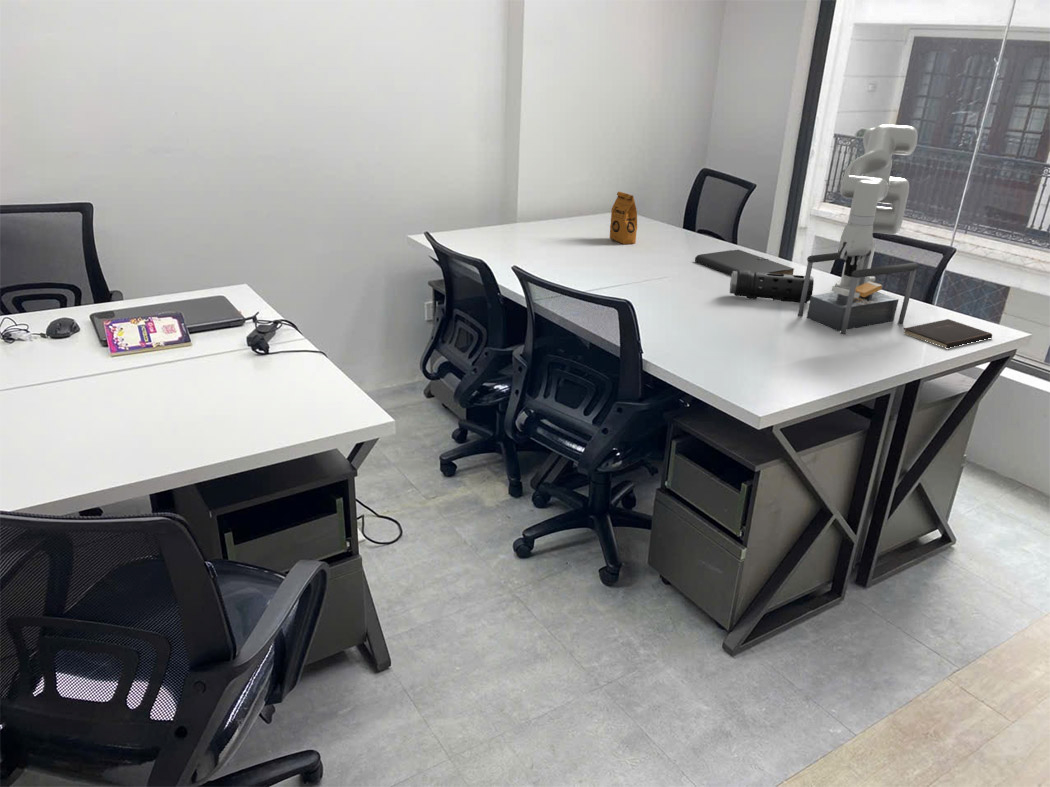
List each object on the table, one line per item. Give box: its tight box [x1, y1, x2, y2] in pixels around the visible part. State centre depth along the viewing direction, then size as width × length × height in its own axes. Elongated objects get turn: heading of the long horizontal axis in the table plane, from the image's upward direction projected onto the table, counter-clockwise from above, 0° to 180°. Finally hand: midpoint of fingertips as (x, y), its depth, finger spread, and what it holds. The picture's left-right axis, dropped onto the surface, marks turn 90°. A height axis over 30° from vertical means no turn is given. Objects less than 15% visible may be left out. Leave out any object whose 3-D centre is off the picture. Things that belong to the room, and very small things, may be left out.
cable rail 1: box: [797, 250, 871, 318], centre depth 267 cm, size 29×2×21 cm, turn 116°
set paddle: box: [830, 286, 860, 298], centre depth 258 cm, size 8×5×2 cm, turn 117°
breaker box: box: [806, 291, 900, 332], centre depth 262 cm, size 26×14×9 cm, turn 117°
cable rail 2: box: [840, 262, 919, 336], centre depth 252 cm, size 29×2×21 cm, turn 116°
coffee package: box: [609, 191, 638, 245], centre depth 353 cm, size 10×12×22 cm
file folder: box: [694, 249, 795, 276], centre depth 320 cm, size 33×4×24 cm
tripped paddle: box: [855, 281, 883, 297], centre depth 262 cm, size 8×5×2 cm, turn 116°
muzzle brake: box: [729, 270, 815, 304], centre depth 280 cm, size 10×28×10 cm, turn 78°
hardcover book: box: [903, 318, 993, 349], centre depth 252 cm, size 16×23×2 cm
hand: (849, 275), depth 255 cm, fingers closed
